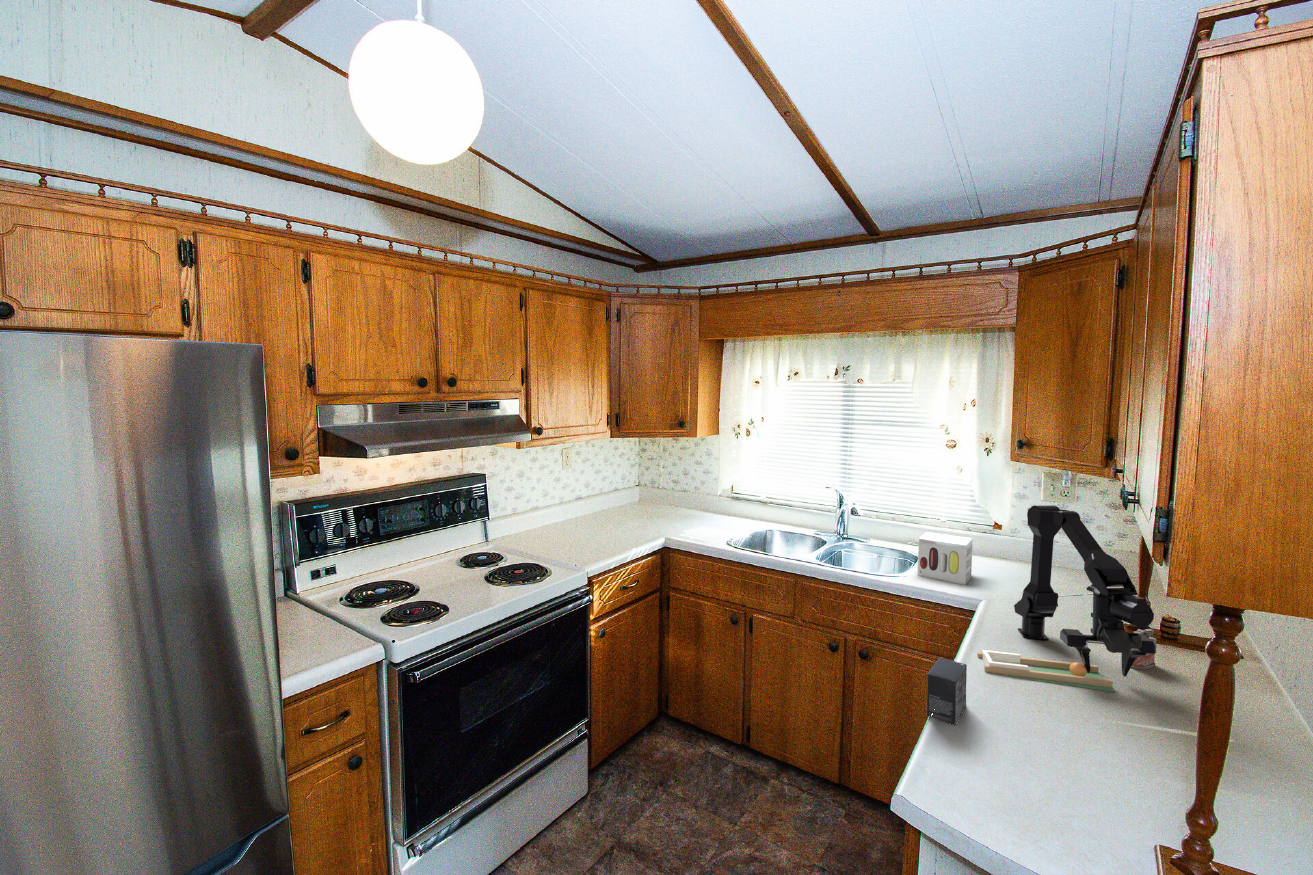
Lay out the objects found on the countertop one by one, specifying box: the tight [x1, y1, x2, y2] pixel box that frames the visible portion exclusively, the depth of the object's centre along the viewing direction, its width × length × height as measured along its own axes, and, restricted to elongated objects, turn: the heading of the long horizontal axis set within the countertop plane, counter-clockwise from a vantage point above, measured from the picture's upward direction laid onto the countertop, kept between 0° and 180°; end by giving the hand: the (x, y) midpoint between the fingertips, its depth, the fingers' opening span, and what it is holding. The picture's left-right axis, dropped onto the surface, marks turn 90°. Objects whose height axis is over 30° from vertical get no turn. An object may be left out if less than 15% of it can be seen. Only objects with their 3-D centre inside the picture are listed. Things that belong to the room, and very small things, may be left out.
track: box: [976, 651, 1115, 692], centre depth 152 cm, size 11×28×2 cm, turn 73°
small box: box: [926, 657, 968, 726], centre depth 133 cm, size 11×6×10 cm, turn 141°
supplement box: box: [917, 531, 974, 586], centre depth 226 cm, size 17×13×18 cm
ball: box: [1069, 661, 1087, 676], centre depth 149 cm, size 4×4×4 cm
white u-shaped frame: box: [981, 649, 1030, 671], centre depth 154 cm, size 8×9×2 cm
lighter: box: [1130, 628, 1158, 671], centre depth 156 cm, size 8×3×10 cm, turn 105°
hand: (1106, 673), depth 147 cm, fingers open, 7 cm apart
